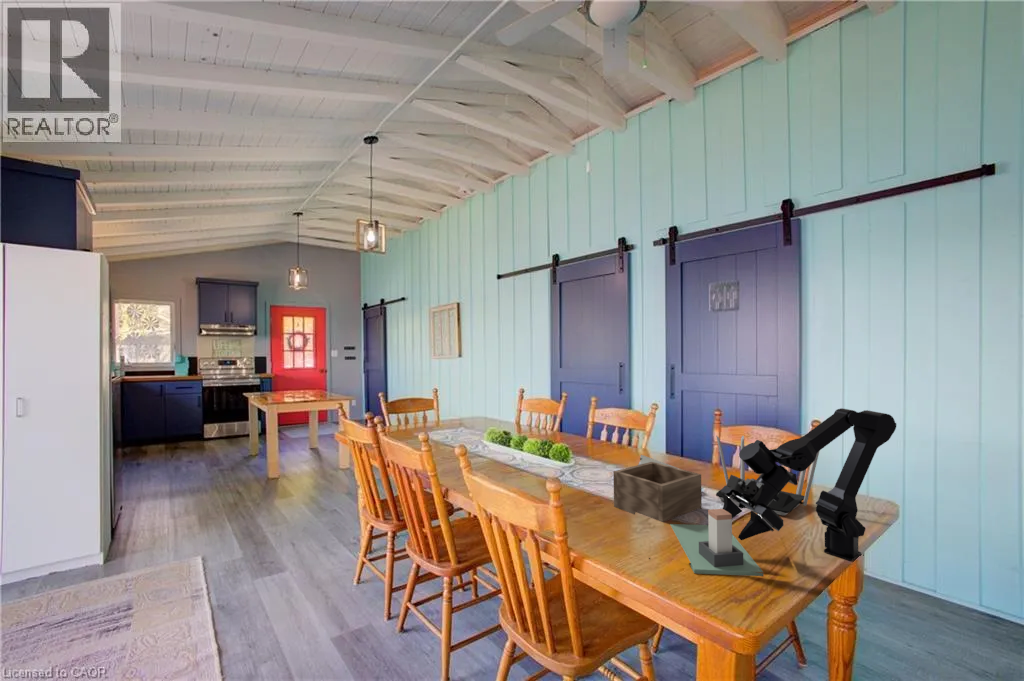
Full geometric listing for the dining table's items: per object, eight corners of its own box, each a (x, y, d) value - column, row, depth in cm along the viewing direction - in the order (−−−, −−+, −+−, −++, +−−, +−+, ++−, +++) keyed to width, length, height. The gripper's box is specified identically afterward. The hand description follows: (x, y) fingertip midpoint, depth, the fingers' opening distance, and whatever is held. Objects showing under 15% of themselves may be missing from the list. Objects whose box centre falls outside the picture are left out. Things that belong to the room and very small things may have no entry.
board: (670, 527, 144) (669, 523, 144) (725, 528, 142) (725, 525, 142) (694, 573, 116) (694, 569, 116) (763, 576, 115) (763, 572, 115)
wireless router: (700, 497, 170) (699, 441, 170) (728, 482, 186) (728, 431, 186) (806, 523, 145) (806, 458, 145) (829, 504, 161) (828, 445, 161)
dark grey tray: (726, 551, 126) (726, 539, 126) (743, 564, 118) (743, 552, 118) (698, 553, 125) (698, 541, 125) (714, 567, 117) (714, 555, 117)
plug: (723, 554, 124) (722, 508, 124) (732, 562, 120) (731, 514, 120) (708, 555, 123) (708, 509, 123) (717, 563, 119) (716, 515, 119)
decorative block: (646, 470, 205) (645, 453, 205) (695, 491, 176) (695, 471, 176) (630, 472, 202) (630, 454, 202) (678, 494, 174) (678, 473, 174)
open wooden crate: (701, 510, 157) (701, 474, 157) (662, 525, 146) (662, 486, 146) (652, 494, 174) (652, 461, 174) (613, 506, 162) (613, 471, 162)
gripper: (726, 455, 131) (689, 498, 130) (770, 475, 113) (728, 525, 112) (753, 482, 132) (717, 524, 131) (802, 506, 114) (760, 555, 113)
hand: (729, 531), depth 122 cm, fingers open, 9 cm apart
